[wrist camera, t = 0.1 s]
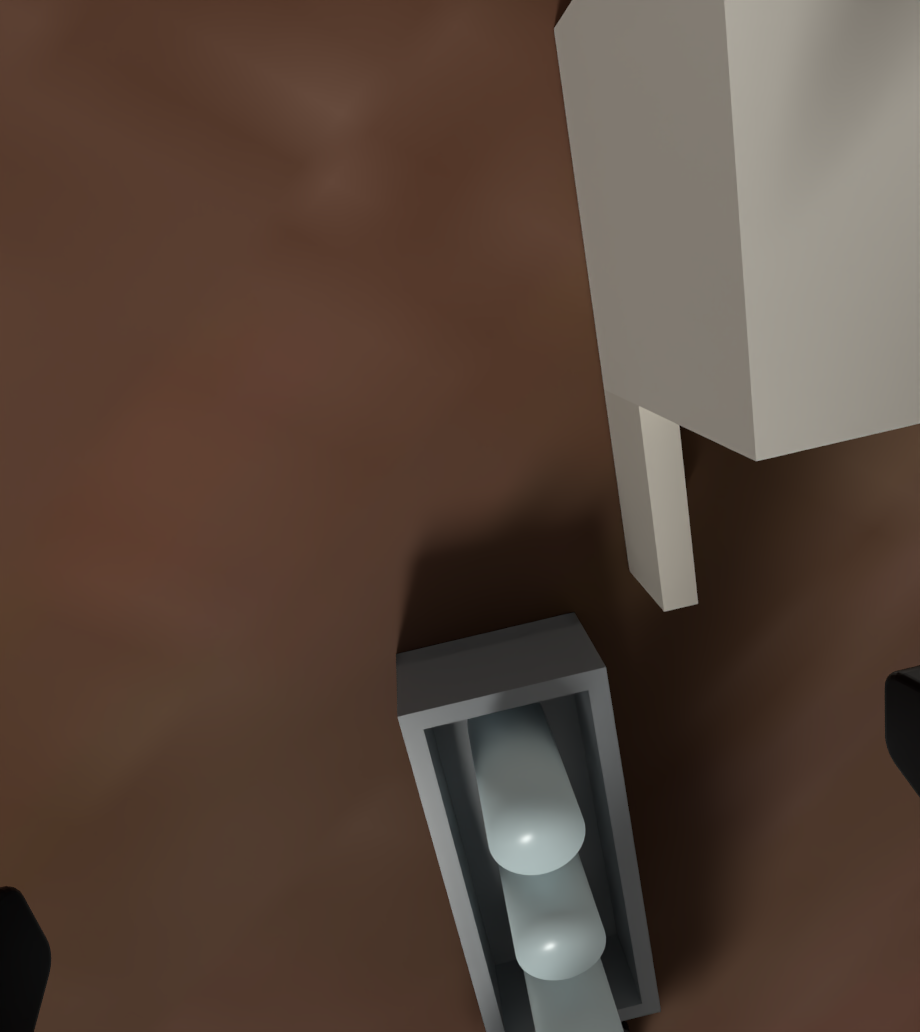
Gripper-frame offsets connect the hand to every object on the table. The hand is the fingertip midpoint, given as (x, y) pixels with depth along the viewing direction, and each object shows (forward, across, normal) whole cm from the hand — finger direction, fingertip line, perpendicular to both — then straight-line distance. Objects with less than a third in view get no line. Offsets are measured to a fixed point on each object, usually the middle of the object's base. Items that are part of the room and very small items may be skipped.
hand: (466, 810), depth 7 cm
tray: (+14, -1, +13) cm, 20 cm away
